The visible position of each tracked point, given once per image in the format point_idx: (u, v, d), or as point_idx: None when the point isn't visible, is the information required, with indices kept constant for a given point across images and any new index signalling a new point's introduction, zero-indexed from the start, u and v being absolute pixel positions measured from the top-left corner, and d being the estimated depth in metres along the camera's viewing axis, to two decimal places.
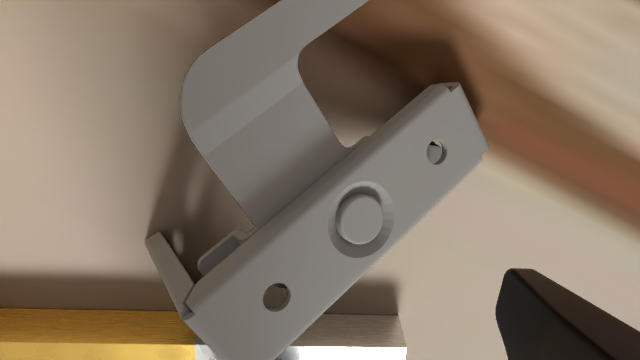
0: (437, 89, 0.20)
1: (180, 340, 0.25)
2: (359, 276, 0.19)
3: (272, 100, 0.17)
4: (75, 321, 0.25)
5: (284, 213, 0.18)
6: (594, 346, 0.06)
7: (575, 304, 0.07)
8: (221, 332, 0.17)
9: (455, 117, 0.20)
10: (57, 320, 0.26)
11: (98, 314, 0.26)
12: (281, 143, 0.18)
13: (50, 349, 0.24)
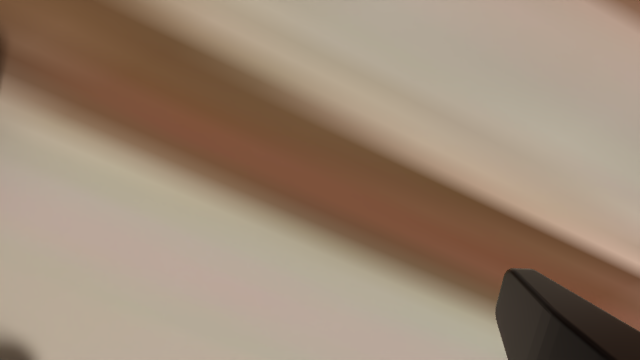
0: None
1: None
2: None
3: None
4: None
5: None
6: (594, 346, 0.06)
7: (575, 303, 0.07)
8: None
9: None
10: None
11: None
12: None
13: None
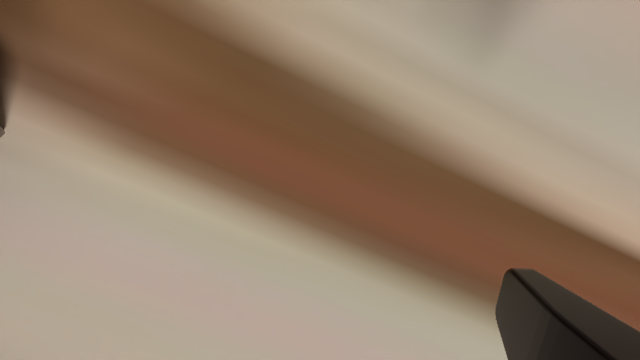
0: None
1: None
2: None
3: None
4: None
5: None
6: (594, 346, 0.06)
7: (575, 304, 0.07)
8: None
9: None
10: None
11: None
12: None
13: None
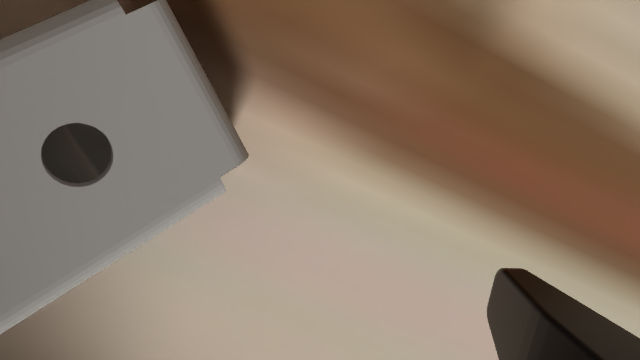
0: (92, 1, 0.08)
1: None
2: None
3: None
4: None
5: None
6: (582, 346, 0.06)
7: (564, 303, 0.07)
8: None
9: (141, 78, 0.08)
10: None
11: None
12: None
13: None
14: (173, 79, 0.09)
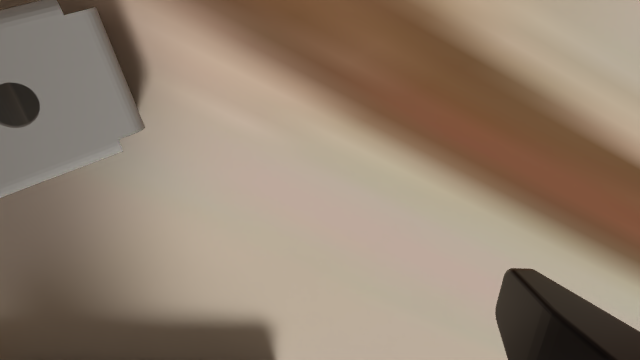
0: (41, 2, 0.12)
1: None
2: None
3: None
4: None
5: None
6: (594, 346, 0.06)
7: (576, 303, 0.07)
8: None
9: (68, 60, 0.12)
10: None
11: None
12: None
13: None
14: (92, 64, 0.12)
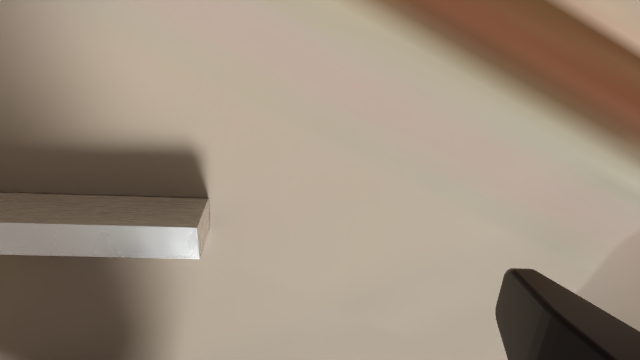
0: None
1: None
2: None
3: None
4: None
5: None
6: (594, 346, 0.06)
7: (575, 304, 0.07)
8: None
9: None
10: None
11: None
12: None
13: None
14: None
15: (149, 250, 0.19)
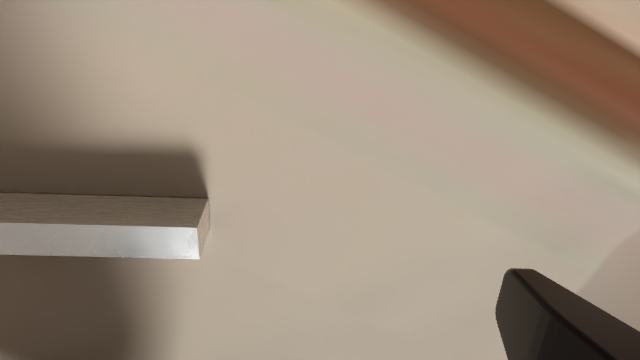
0: None
1: None
2: None
3: None
4: None
5: None
6: (594, 346, 0.06)
7: (575, 304, 0.07)
8: None
9: None
10: None
11: None
12: None
13: None
14: None
15: (149, 250, 0.19)
